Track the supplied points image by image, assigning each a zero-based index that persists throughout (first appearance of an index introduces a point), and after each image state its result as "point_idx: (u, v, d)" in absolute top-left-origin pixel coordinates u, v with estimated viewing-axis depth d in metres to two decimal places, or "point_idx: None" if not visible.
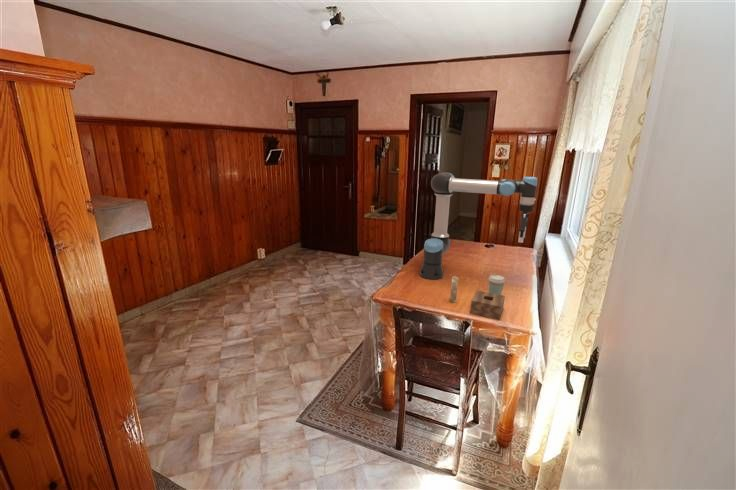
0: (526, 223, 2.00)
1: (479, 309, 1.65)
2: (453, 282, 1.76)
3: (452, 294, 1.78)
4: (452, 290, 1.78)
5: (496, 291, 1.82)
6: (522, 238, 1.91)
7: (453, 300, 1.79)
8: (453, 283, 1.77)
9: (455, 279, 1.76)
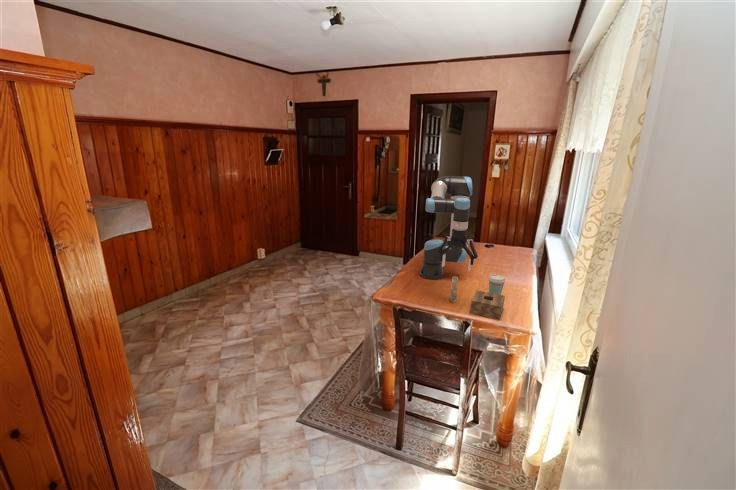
0: None
1: (479, 309, 1.65)
2: (453, 282, 1.76)
3: (452, 294, 1.78)
4: (452, 290, 1.78)
5: (496, 291, 1.82)
6: None
7: (453, 300, 1.79)
8: (453, 283, 1.77)
9: (455, 279, 1.76)
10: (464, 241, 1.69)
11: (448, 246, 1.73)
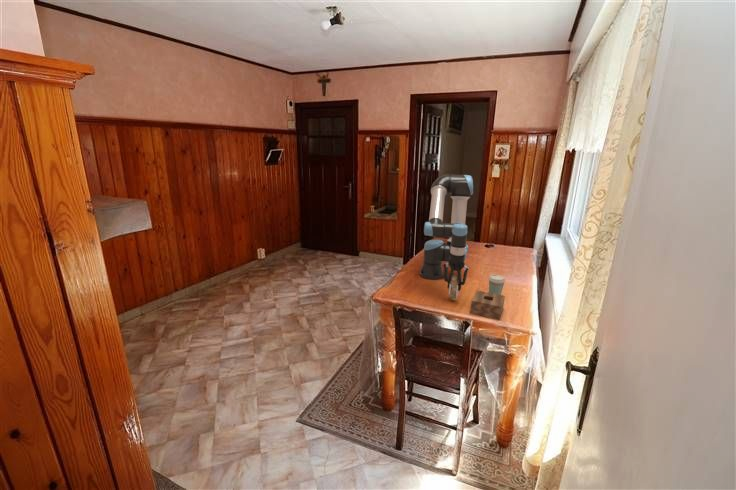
0: None
1: (479, 309, 1.65)
2: (453, 280, 1.76)
3: (452, 292, 1.78)
4: (452, 288, 1.78)
5: (496, 291, 1.82)
6: None
7: (453, 298, 1.79)
8: (453, 281, 1.77)
9: (455, 277, 1.75)
10: (461, 266, 1.73)
11: (450, 273, 1.77)
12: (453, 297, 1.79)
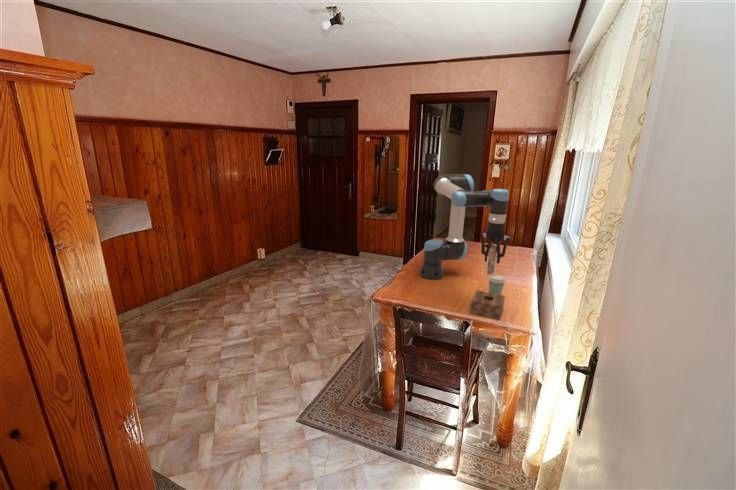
0: None
1: (479, 309, 1.65)
2: (491, 252, 1.61)
3: (490, 265, 1.63)
4: (490, 261, 1.62)
5: (496, 291, 1.82)
6: None
7: (491, 272, 1.63)
8: (491, 253, 1.61)
9: (494, 248, 1.60)
10: (501, 235, 1.57)
11: (488, 244, 1.61)
12: (491, 271, 1.63)
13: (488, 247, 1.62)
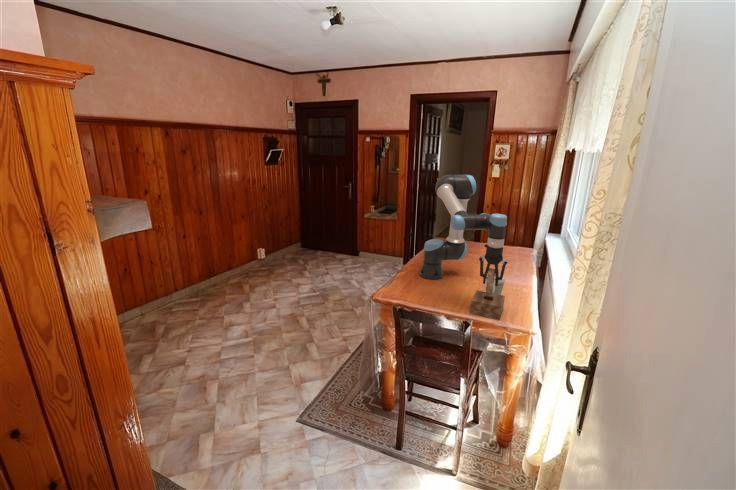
0: (495, 273, 1.63)
1: (479, 309, 1.65)
2: (490, 274, 1.64)
3: (488, 287, 1.66)
4: (488, 283, 1.66)
5: (496, 291, 1.82)
6: (485, 285, 1.68)
7: (489, 294, 1.67)
8: (490, 276, 1.64)
9: (492, 271, 1.63)
10: (499, 259, 1.61)
11: (486, 267, 1.64)
12: (489, 293, 1.67)
13: (486, 270, 1.65)
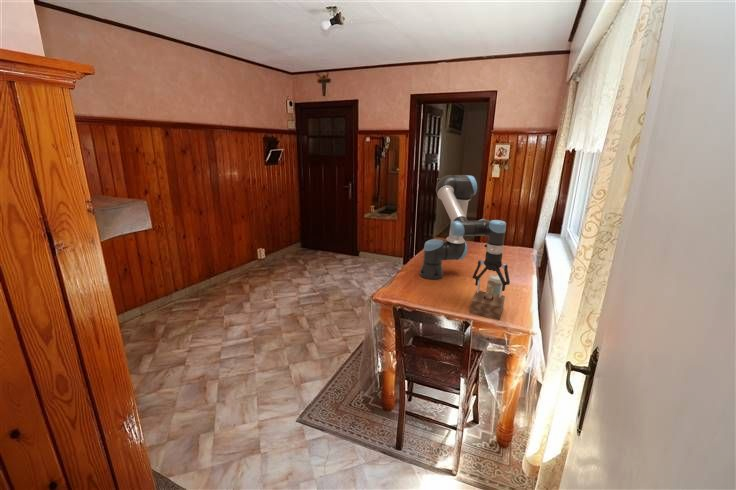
0: (500, 279, 1.63)
1: (479, 309, 1.65)
2: (489, 287, 1.66)
3: (487, 299, 1.68)
4: (487, 295, 1.68)
5: (496, 291, 1.82)
6: (477, 287, 1.70)
7: None
8: (489, 288, 1.66)
9: (491, 284, 1.65)
10: (499, 265, 1.61)
11: (482, 271, 1.66)
12: None
13: (481, 273, 1.66)
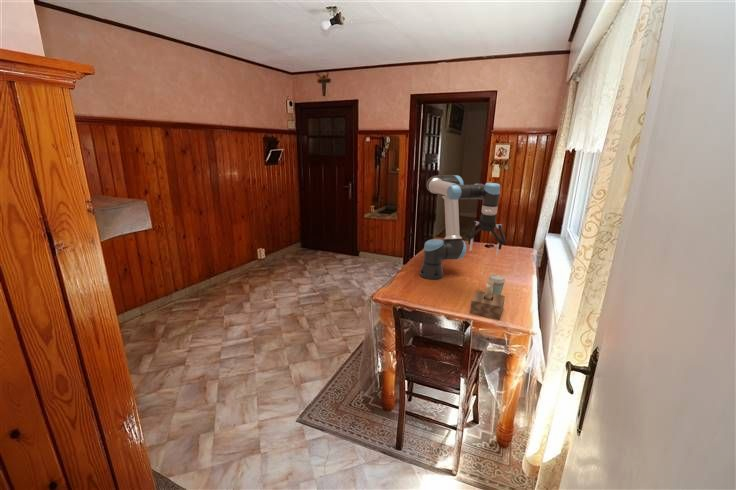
0: (496, 238, 1.72)
1: (479, 309, 1.65)
2: (488, 287, 1.66)
3: (486, 299, 1.68)
4: (486, 295, 1.68)
5: (496, 291, 1.82)
6: (470, 246, 1.80)
7: None
8: (488, 288, 1.66)
9: (490, 284, 1.65)
10: (493, 226, 1.71)
11: (476, 231, 1.76)
12: None
13: (475, 233, 1.76)
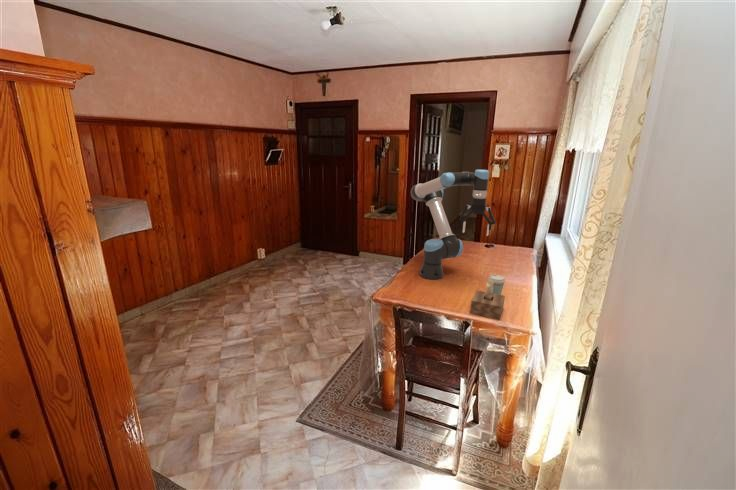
0: None
1: (479, 309, 1.65)
2: (488, 286, 1.66)
3: (486, 299, 1.68)
4: (487, 295, 1.68)
5: (496, 291, 1.82)
6: None
7: None
8: (488, 287, 1.66)
9: (491, 283, 1.65)
10: (483, 208, 1.88)
11: None
12: None
13: (467, 216, 1.93)
